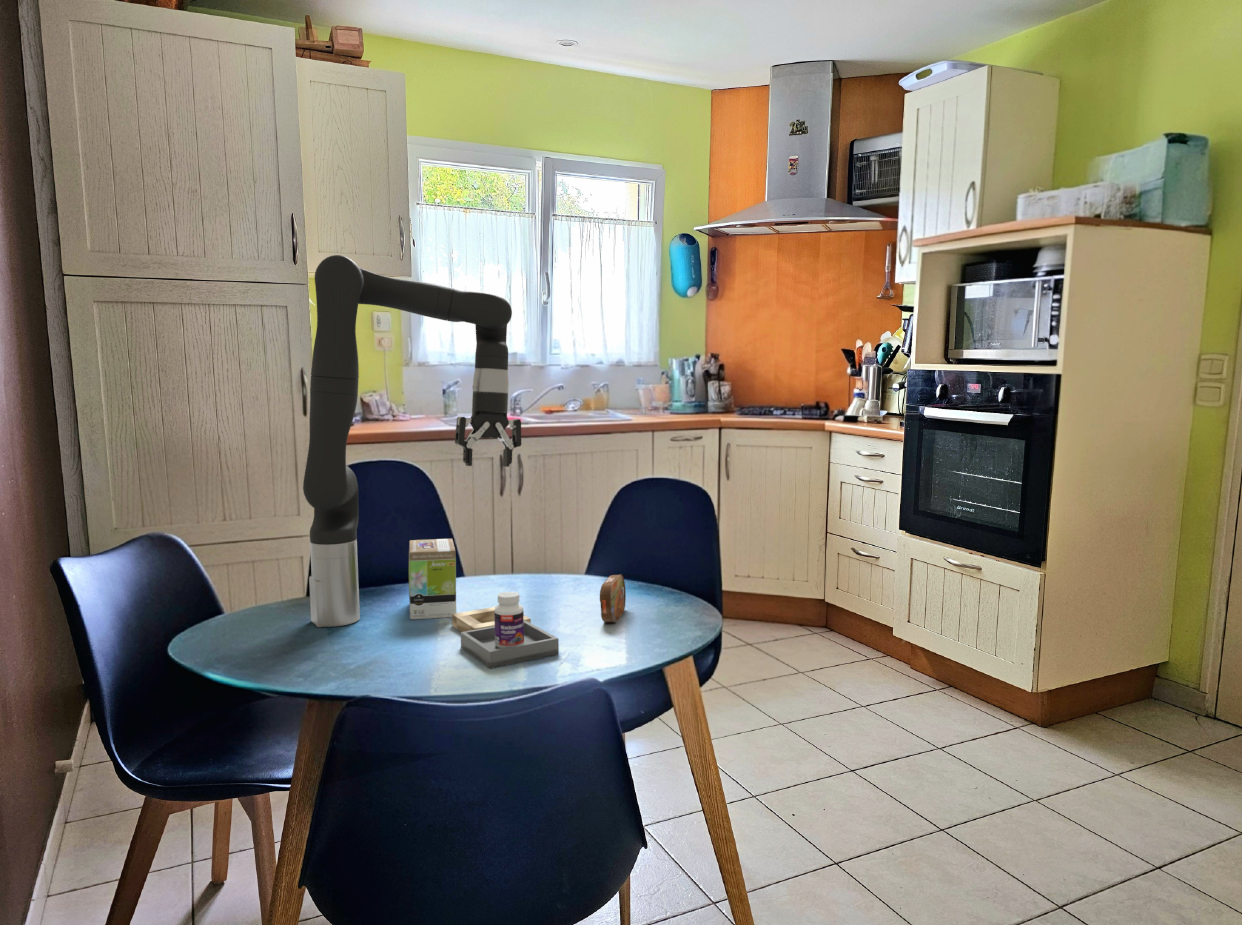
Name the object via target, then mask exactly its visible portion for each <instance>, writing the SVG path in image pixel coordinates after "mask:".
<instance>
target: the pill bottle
mask: <svg viewBox="0 0 1242 925" xmlns="http://www.w3.org/2000/svg"><path fill="white" fill-rule="evenodd" d="M497 603H498V605H496V606H494V607H495V610H494V616H495V645H496V646H497V647H498V648H505V647H510V646H515V645H520V644H524V615H525V614H524V607H523V605H522V604H520V593H519V592H516V591H504V592H500V593H498V594H497Z"/></svg>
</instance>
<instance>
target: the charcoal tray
mask: <svg viewBox="0 0 1242 925" xmlns="http://www.w3.org/2000/svg"><path fill="white" fill-rule="evenodd" d="M559 646H560V645H559V638H558V637H557V636H555V635H553V634H552V633H549V632H547V631H545V630H544V629H541V628H540V627H538V626H536V625H535V624H532V623H529V622H527V621H524V644H520V645H515V646H510V647H505V648H498V647H497V646H496V645H495V626H493V627H487V628H482V629H476V630H471V631H465V632H461V631H460V648H461V649H462V650H464V651H465V652H466V653H468V654H469V655H471V656H472V657H473V658H474V659H476V660H477V661H479V663H481V664H483V665H484V666H486V667H487V668H489V669H490V670H492V669H495V668H500V667H501V668H502V667H505V666H509V665H510V666H511V665H514V664H518V663H519V664H520V663H525V662H529V661H534V660H537V659H542V658H543V659H544V658H548V657H552V656H556V655H560V654H559V653H560V652H559V650H560V648H559Z"/></svg>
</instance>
